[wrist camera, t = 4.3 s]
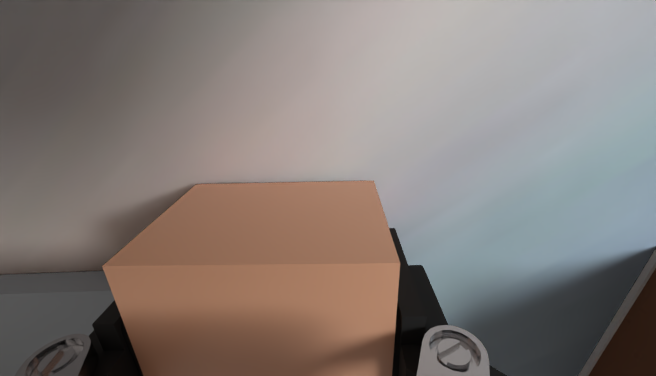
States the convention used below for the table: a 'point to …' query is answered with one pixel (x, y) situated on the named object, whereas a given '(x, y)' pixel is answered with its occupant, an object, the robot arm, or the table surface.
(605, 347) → the food container
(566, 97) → the table surface
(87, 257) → the table surface
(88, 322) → the baseplate
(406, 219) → the table surface
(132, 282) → the brick
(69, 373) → the robot arm
